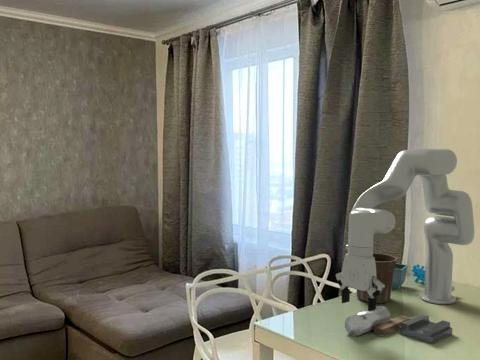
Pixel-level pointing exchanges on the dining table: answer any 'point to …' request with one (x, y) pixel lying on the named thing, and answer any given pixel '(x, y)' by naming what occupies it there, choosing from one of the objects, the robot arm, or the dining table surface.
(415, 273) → the blue spiky ball
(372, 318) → the axle
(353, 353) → the dining table surface
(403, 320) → the wooden blocks
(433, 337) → the v block
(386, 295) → the plant pot
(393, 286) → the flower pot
